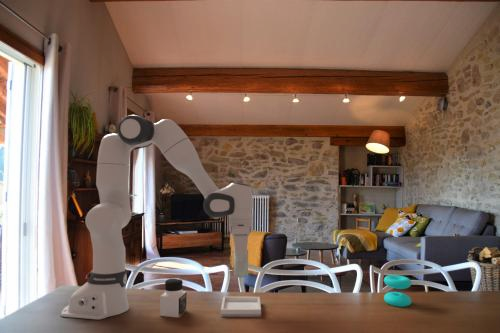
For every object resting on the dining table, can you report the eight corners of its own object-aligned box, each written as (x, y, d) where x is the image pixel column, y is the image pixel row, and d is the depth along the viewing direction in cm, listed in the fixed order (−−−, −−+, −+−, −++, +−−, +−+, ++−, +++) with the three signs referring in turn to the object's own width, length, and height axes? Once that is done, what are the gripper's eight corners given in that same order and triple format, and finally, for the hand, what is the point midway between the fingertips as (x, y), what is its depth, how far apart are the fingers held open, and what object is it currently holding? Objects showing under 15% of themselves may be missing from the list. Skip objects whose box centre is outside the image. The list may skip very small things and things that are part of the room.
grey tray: (220, 316, 130) (220, 309, 130) (223, 303, 144) (223, 296, 144) (261, 317, 130) (261, 309, 130) (259, 303, 144) (259, 296, 144)
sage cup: (233, 277, 135) (233, 252, 135) (234, 273, 140) (234, 249, 140) (248, 277, 135) (248, 251, 135) (248, 273, 140) (247, 249, 140)
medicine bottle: (178, 318, 128) (179, 282, 129) (159, 316, 130) (160, 281, 130) (186, 310, 135) (187, 277, 136) (168, 309, 137) (168, 276, 137)
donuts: (387, 280, 142) (381, 273, 152) (387, 307, 142) (381, 298, 151) (415, 281, 141) (406, 274, 151) (415, 308, 141) (406, 299, 150)
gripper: (233, 222, 148) (233, 258, 148) (231, 230, 128) (231, 271, 127) (249, 222, 148) (249, 257, 148) (249, 230, 128) (249, 271, 127)
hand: (240, 264), depth 137 cm, fingers closed on sage cup, 5 cm apart
